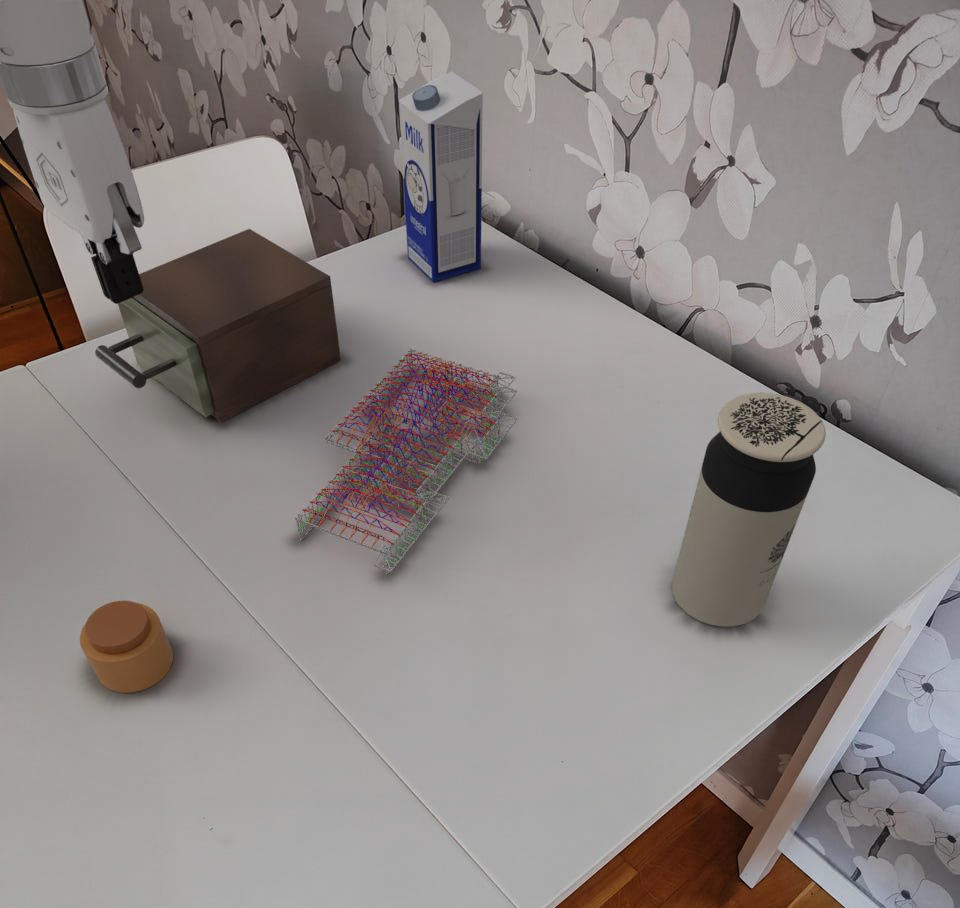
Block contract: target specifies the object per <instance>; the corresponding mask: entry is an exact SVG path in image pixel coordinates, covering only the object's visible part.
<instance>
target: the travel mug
mask: <svg viewBox="0 0 960 908" xmlns="http://www.w3.org/2000/svg"><path fill="white" fill-rule="evenodd" d="M717 426H718V430H719V432H718V433H716V434H715V436H713V437H712V438H711V439H710V440H709V442H708V444H707V446H706V450H705V453H704V456H703V461H702V465H701V468H700V472H699V476H698V480H697V484H696V487H695V491H694V495H693V499H692V502H691V507H690V511H689V515H688V518H687V523H686V526H685V530H684V534H683V537H682V542H681V545H680V549H679V553H678V556H677V557H678V558H677V561H676V564H675V568H674V573H673V576H672V580H671V592H672V595H673V598H674V599H675V602H676V603H677V605H678V606H679V607H680V609H682V610H683V611H684V612H685V613H686V614H687V615H689V616H690V617H691V618H694V619H695V620H698V621H700V622H702V623H704V624H707V625H710V626H711V625H712V626H716V627H717V626H718V627H736V626H737V627H738V626H741V625H744V624H748V623H749V622H751V621H753V620H755V619H756V618H757V617H759V615H760V614H761V613H762V611H763V609H764V608H765V605H766V602H767V599H768V597H769V594H770V592H771V590H772V587H773V585H774V581H775V580H776V576H777V574H778V572H779V569H780V566H781V563H782V562H783V559H784V556H785V554H786V550H787V549H788V546H789V543H790V540H791V537H792V535H793V533H794V530H795V528H796V525H797V522H798V520H799V517H800V515H801V512H802V509H803V507H804V504H805V502H806V499H807V496H808V494H809V491H810V490H811V486H812V484H813V481H814V479H815V475H816V473H817V465H816V460H815V457H814V454H815V453H817V452H818V451H819V450H820V449H821V448H822V446H823V445H824V443H825V440H826V427H825V424H824V422H823V420H822V419H821V418H820V416H819V415H818V414H817V413H816V412H815V410H814V409H812V408H811V407H809V406H808V405H806V404H805V403H804V402H801V401H799V400H797V399H795V398H792V397H789V396H787V395H782V394H777V393H771V392H752V393H745V394H741V395H738V396H736V397H734V398H732V399H730V400H729V401H728V402H726V403H725V404H724V405H723V406H722V407H721V409H720V411H719V413H718V417H717Z"/></svg>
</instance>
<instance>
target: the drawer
mask: <svg viewBox="0 0 960 908" xmlns="http://www.w3.org/2000/svg"><path fill="white" fill-rule="evenodd" d="M117 306H118V309H119V313H120V316H121V318H122V322H123V324H124V327H125V331H126V333H127V336H128V338H126V339H123V340H121V341H119V342H116V343H115V344H112V345H110V346H106V345H104V344H101V345H98V346H97V347H96V349H95V351H94V353H95V356H96V358H98V359H99V360H100V361H101V362H103V363H104V364H105V365H106V366H108V367H109V368H110V369H112V370H113V371H114V372H115V373H117V375H119V376H120V377H121V378H123V379H124V380H125V381H127V382H128V383H129V384H130V385H132V386H133V387H134V388H136V389H142V388H144V387H145V386H146V383H147V381H148V380H149V379H151V378H154V379H155V380H156V381H157V382H159V383H160V384H161V385H162V386H164V387H165V388H166V389H168V390H169V391H170V392H172V393H173V394H174V395H175V396H177V397H178V398H179V399H180V400H182V401H184V402H185V403H186V404H187V405H188V406H190V407H191V408H192V409H194V410H195V412H198V413H199V414H200V415H201V416H203V418H207V417H210V416H211V414H213V413H215V411H214V407H213V403H212V399H211V396H210V392H209V388H208V384H207V381H206V377H205V373H204V369H203V365H202V362H201V358H200V354H199V350H198V346H197V344H196V342H195V341H194V340H192V339H191V338H189V337H188V336H187V335H185V334H184V333H182V332H181V331H180V330H178V329H177V328H175V327H174V326H173V325H171V324H170V323H168V322H167V321H166V320H164V319H163V318H161V317H160V316H159V315H157V314H156V313H154V312H153V311H152V310H150V309H149V308H148V309H147V308H146V307H144V306H143V305H142V304H140V303H139V302H137V301H136V300H135V299H133V298H130V299H127V300H125V301H123V302H121V303H118V304H117ZM128 348H131V349H132V352H133V354H134V355H133V356H134V357H135V361H136V363H137V366H138V367H139V368H141V369H142V370H143V371H142V372H141V371H139V370H138V369H136V368H135V367H133V366H132V365H131V364H130V363H129V362H127V361H126V360H124V358H123V357H121V356H120V355H119V354H117V353H120V352H122V351H124V350H126V349H128Z"/></svg>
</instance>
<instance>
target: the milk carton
mask: <svg viewBox="0 0 960 908" xmlns="http://www.w3.org/2000/svg"><path fill="white" fill-rule="evenodd" d="M483 95H484V92H483V91H482V90H480V89H479V88H477V87H476V86H474V85H472V84H471V83H470V82H468V81H467V80H466V79H465V78H463V77H461V76H460V75H458V74H457V73H455V72H454V71H449V72H448V73H445V74H443V75H441V76H439V77H435V78H434V79H432V80H431V81H429V82H427V83H426V84H423V85H422V86H421V87H419V88H417V89H415V90H414V91H412V92H410V93H409V94H407V95H406V96H404V97H402V98H400V99H399V100H398V103H399V105H398V107H399V122H400V138H401V139H400V140H401V158H402V159H401V160H402V176H403V195H404V196H403V197H404V210H405V212H404V213H405V230H406V231H405V232H406V246H407V247H406V249H407V258H408V260H410V261H411V262H412V263H413V264H414V265H415V266H416V267H417V268H418V269H419V270H420V271H421V272H422V273H423V274H424V275H425V276H426V277H427V278H428V279H429V280H430V281H431V282H432V283H437V282H440V281H442V280H446V279H449V278H453V277H457V276H460V275H463V274H467V273H470V272H473V271H477V270H481V269H482V204H483V203H482V199H483V197H482V196H483V194H482V193H483V192H482V191H483V188H482V187H483V104H484V103H483V102H484V101H483V98H484V96H483Z"/></svg>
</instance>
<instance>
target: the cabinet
mask: <svg viewBox="0 0 960 908" xmlns="http://www.w3.org/2000/svg"><path fill="white" fill-rule="evenodd" d="M139 276H140V279H141V282H142V285H143V289H144V290H143V292H142V293H141V294H139V295H137V296H134V297H132V298H133V299H135V300H136V301H137V302H139V303H140V304H142V305H143V306H144V307H146V308H147V309H148V308H149V309H150V310H152V311H153V312H154V313H156V314H157V315H159V316H160V317H161V318H163V319H164V320H166V321H167V322H168V323H170V324H171V325H173V326H174V327H175V328H177V329H178V330H180V331H181V332H182V333H184V334H185V335H187V336H188V337H189V338H191V339H192V340H194V341H195V342H196V344H197V346H198V350H199V354H200V358H201V362H202V365H203V369H204V373H205V377H206V381H207V384H208V388H209V392H210V396H211V399H212V403H213V407H214V411H215V413H213V414H211V415H210V416H211V417H213V418H214V419H215V420H216V421H218V422H219V423H224V422H225V421H228V420H229V419H231V418H232V417H235V416H237V415H238V414H241V413H242V412H244V411H246V410H248V409H250V408H252V407H254V406H256V405H258V404H260V403H262V402H264V401H265V400H267V399H270V398H271V397H274V396H275V395H277V394H279V393H281V392H282V391H285V390H287V389H288V388H290V387H292V386H294V385H296V384H298V383H301V382H302V381H304V380H306V379H307V378H309V377H311V376H314V375H316V374H317V373H319V372H322V371H323V370H325V369H326V368H329V367H330V366H332V365H334V364H336V363H338V362H340V361H341V350H340V343H339V335H338V327H337V326H338V325H337V318H336V311H335V301H334V295H333V287H332V279H331V275H329V274H327V273H325V272H324V271H323V270H320V269H319V268H317V267H316V266H314V265H312V264H310V263H308V262H307V261H306V260H304V259H302V258H300V257H298V256H297V255H295V254H293V253H291V252H290V251H288V250H286V249H285V248H283V247H281V246H280V245H278V244H277V243H275V242H273V241H272V240H269V239H268V238H266V237H264V236H262V235H261V234H260V233H257V232H256V231H254V230H253V229H251V228H247V229H245V230H243V231H242V230H241V231H240V232H238V233H235V234H233V235H230V236H228V237H226V238H223V239H221V240H218V241H216V242H214V243H211V244H208V245H206V246H204V247H201V248H198V249H196V250H194V251H192V252H189V253H187V254H185V255H182V256H179V257H177V258H174V259H173V260H170V261H167V262H164V263H163V264H160V265H158V266H155V267H153V268H151V269H148V270H146V271H143V272H141V273H139Z"/></svg>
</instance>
